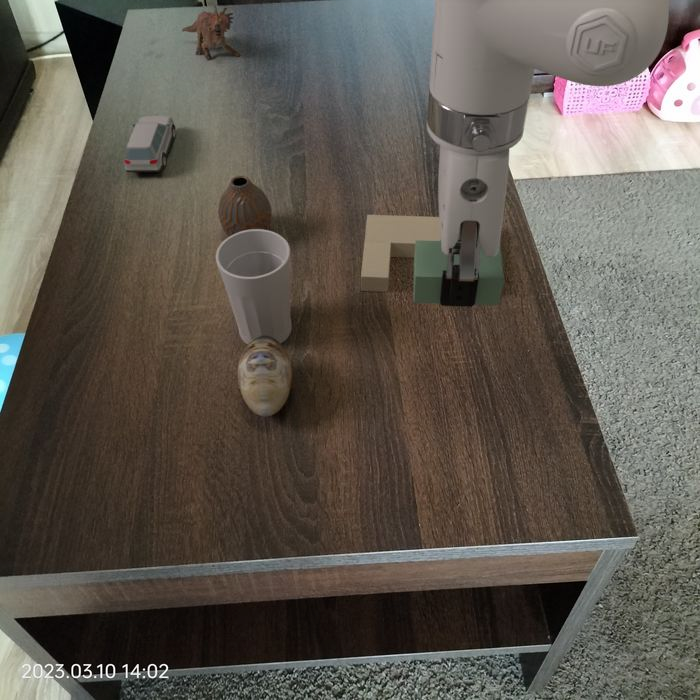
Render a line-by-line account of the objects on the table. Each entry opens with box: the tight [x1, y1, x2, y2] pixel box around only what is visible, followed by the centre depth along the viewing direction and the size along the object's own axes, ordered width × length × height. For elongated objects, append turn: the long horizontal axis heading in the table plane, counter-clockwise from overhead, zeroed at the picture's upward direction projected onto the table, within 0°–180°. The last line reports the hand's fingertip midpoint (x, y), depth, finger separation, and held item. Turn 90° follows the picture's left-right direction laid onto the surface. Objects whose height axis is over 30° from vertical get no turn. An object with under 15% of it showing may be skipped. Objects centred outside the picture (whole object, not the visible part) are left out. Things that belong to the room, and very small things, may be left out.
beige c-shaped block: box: [360, 214, 441, 293], centre depth 93 cm, size 16×12×2 cm
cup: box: [215, 229, 293, 345], centre depth 83 cm, size 8×8×12 cm
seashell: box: [237, 335, 293, 418], centre depth 77 cm, size 10×6×8 cm, turn 4°
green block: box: [413, 240, 505, 306], centre depth 68 cm, size 8×5×4 cm, turn 86°
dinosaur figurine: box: [181, 5, 241, 61], centre depth 129 cm, size 14×6×9 cm, turn 42°
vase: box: [218, 175, 273, 237], centre depth 95 cm, size 7×7×9 cm
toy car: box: [123, 114, 176, 173], centre depth 110 cm, size 6×13×5 cm, turn 178°
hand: (456, 281), depth 69 cm, fingers closed on green block, 5 cm apart
